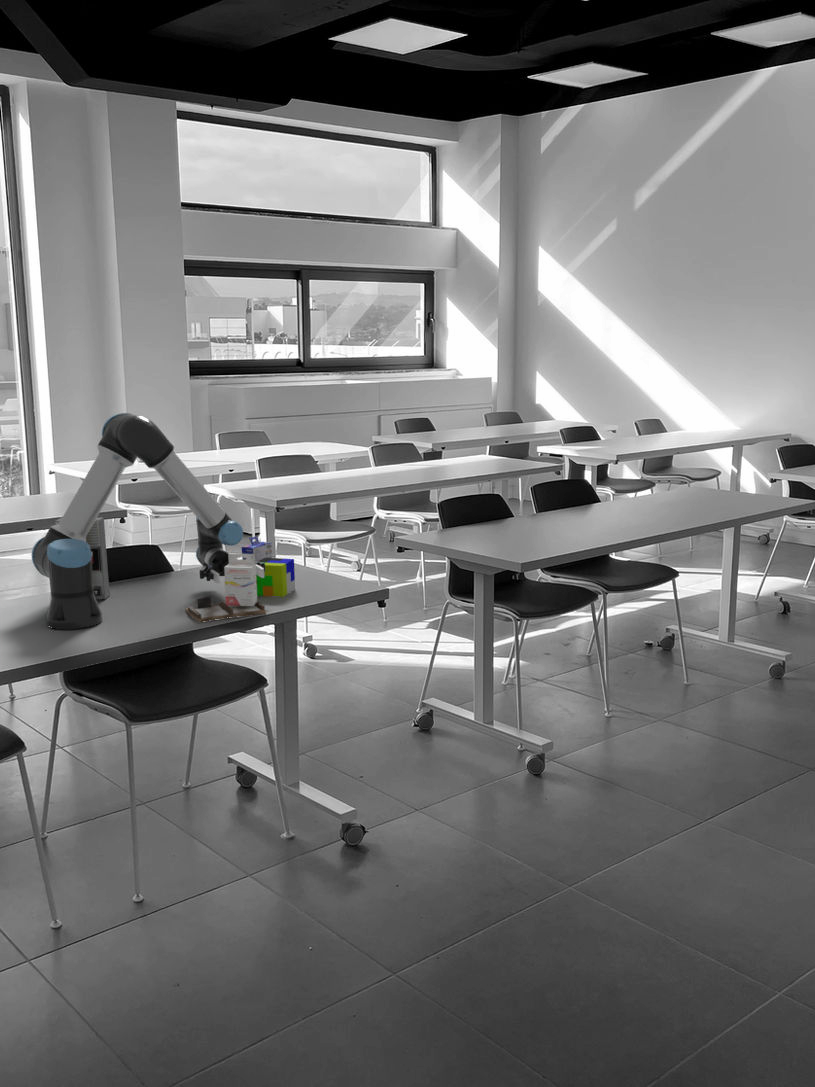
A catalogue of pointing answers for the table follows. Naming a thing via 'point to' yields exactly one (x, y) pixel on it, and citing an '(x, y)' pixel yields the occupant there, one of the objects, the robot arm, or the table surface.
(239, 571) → the ink cartridge box
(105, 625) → the table surface
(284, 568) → the puzzle toy
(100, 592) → the tall grey box
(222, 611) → the tag dock board
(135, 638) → the table surface
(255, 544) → the ink cartridge box
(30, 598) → the table surface
